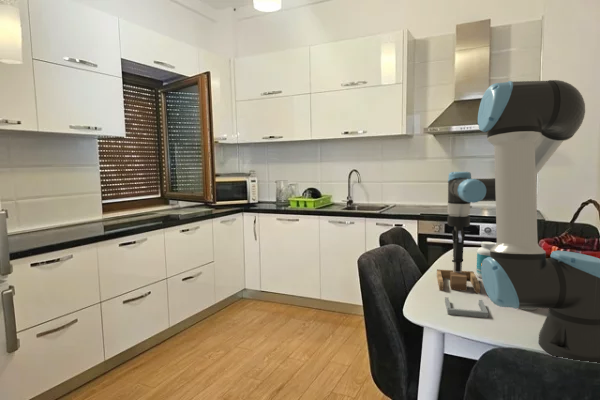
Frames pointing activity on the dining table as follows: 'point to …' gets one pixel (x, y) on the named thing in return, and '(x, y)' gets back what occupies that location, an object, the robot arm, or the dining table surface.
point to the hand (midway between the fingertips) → (457, 278)
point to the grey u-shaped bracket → (467, 312)
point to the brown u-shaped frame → (469, 274)
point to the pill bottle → (483, 255)
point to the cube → (458, 281)
